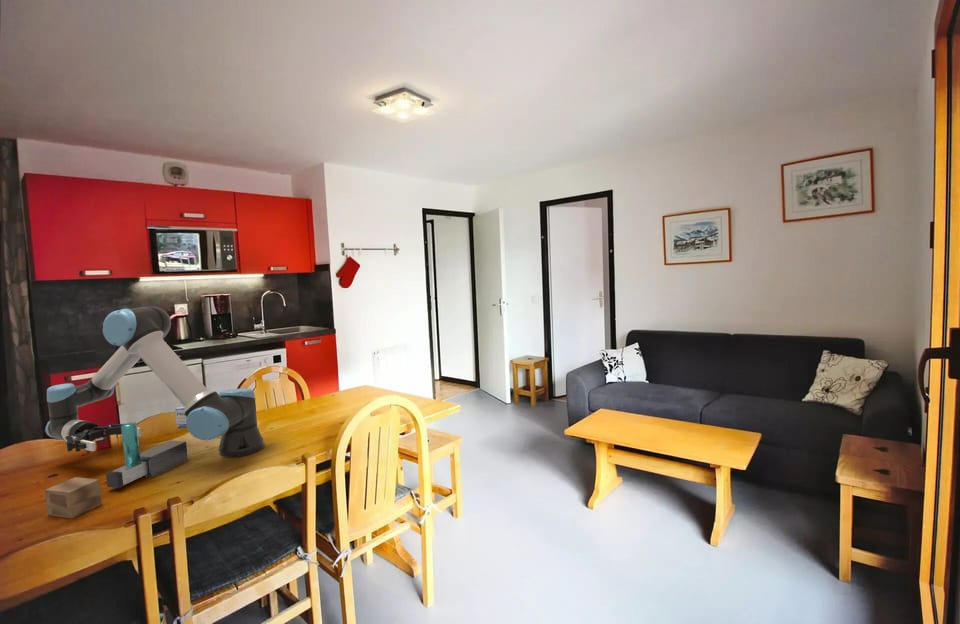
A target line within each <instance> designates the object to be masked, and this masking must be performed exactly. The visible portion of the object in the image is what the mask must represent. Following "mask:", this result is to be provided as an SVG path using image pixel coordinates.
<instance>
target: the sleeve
mask: <svg viewBox="0 0 960 624" xmlns="http://www.w3.org/2000/svg"><path fill="white" fill-rule="evenodd" d="M140 460H148V466H149V473H148V474H146V475H144V476H147V477H146V478H148V477H153V478H155V477H157V476H159V475H161V474H163V473H165V472H167V471H169V470H171V469H174V468H175V466H176V465H178V464H180V463H182V464H184V463H185V461H186V462H188V461H189V458H188V445H187V441H185V440H184V441H181V440H168V441H165V442H163V443H161V444H159V445H156V446H153V447H151V448H149V449H147V450H144V451H140ZM187 460H188V461H187ZM183 462H184V463H183ZM180 465H181V464H180ZM178 466H179V465H178ZM173 467H174V468H173ZM176 467H177V466H176ZM166 470H167V471H166ZM164 471H165V472H164ZM162 472H163V473H162ZM160 473H161V474H160ZM158 474H159V475H158ZM156 475H157V476H156ZM154 476H155V477H154Z"/></svg>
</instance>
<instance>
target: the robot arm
mask: <svg viewBox="0 0 960 624" xmlns="http://www.w3.org/2000/svg"><path fill="white" fill-rule="evenodd" d="M102 326H103V328H102V335H103V336H104V339H105V340H106V341H107V342H108V343H109V344H110V345H113V346H117V347H118V349H117V350H116V351H115V352H114V354H113V355H111V357H110V358H109V359H108V360H107V361H105V363H104V365H102V366H101V368H100V369H99V370H98V371H97V372H96V373H95V374H94V375H93V376H92V377H91V379H89V381H87V382H86V383H83V384H79V385H75V384H74V383H61V384H56V385H52V386H50V387H48V388H47V389H46V401H47V407H48V414H49V420H48V421H47V424H46V426H45V429H44V432H45V434H46V435H47V436H48V437H50V438H52V439H55V440H58V441H59V440H60V441H65V445H66V449H67V451H66V452H72V451H73V449H75V450H74V451H75V452H76V453H78V452H81V450H83V451H84V450H86V451H89V452H96V451H97V450H96V442H95V440H97V439H98V440H99V439H102V438H108V437H110V436H113V435H122V431H121V425H123V424H124V423H108V425H105V426H99V425H98V424H97V423H95V422H93V421H89V420H82V419H79V410H78V408H81V407H83V406H86V405H88V404H93V403H96V402H99V401H103V400H105V399H107V398H110V397H111V396H112V395H113V394H114V393H115V389H116V388H115V386H116V384H118V383H119V382H120V380H121V379H122V378H123V377H125V376H126V374H127V373H128V372H129V371H130V370H131V369H132V368H133V367H134V366H135V364H136V363H137V362H138V361H140V359H141V360H142V362H144V364H145V365H147V367H148V368H149V369H150V370H151V372H153V374H155V376H156V377H157V378H158V379H159V380H160V381H161V382H162V383H163V384H164V386H165V387H166V388H167V389H168V390H169V391H170V392H171V393H172V395H173V396H174V397H175V398H176V399H177V400H178V401H179V403H181V404H182V405H181V406H184V407H185V410H184V415H185V416H186V417H187V419H186V423H187V426H186V427H185V428H186V430H188V432H189V434H190V435H191V436H192V437H194V438H195V439H198V440H201V441H211V440H215V439H217V438H219V437H221V438H220V441H219V442H220V443H219V445H218V455H219V456H221V457H224V458H237V457H244V456H247V455H251V454H254V453H256V452H260V451H261V450H262V449H263V448H264V446H265V440H264V437H262V434H261V432H260V429H259V427H258V418H257V416H258V415H257V405H256V399H257V398H256V395H255V391H254V389H252V388H233V389H224V390H220V392H219V393H218V392H217V391H216V390H209V389H208V388H207V387H206V386H205V385H204V384H203V383H202V381H201V380H200V379H199V378H198V377H197V376H196V375H195V373H194V372H193V371H191V369H190V368H189V367H188V365H186V363H185V362H184V361H183V360H182V359H181V358H180V357H179V356H178V355H177V353H176V351H175V352H174V350H173V349H172V348H171V347H170V345H168V344H167V342H166V341H165V339H164V338H166V336H167V335H168V334H169V332H170V330H171V326H172V321H171V316H169V314H168V313H167V311H165V310H164V309H163V308H161V307H158V306H154V305H153V306H151V305H149V306H142V307H141V306H140V307H134V308H133V307H132V308H121V309H119V310H114V311H112V312H110V313H109V314H107V316H106V317H105V319H104V320H103V323H102ZM137 432H138V437H142V435H143V434H142V429H141V427H138V426H137Z"/></svg>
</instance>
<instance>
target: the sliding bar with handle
mask: <svg viewBox="0 0 960 624" xmlns="http://www.w3.org/2000/svg"><path fill="white" fill-rule="evenodd" d="M122 424H123V425H121V431H122V434H121V437H122V438H121V439H122V445H123V446H122V447H123V449H122V450H123V456H124V465H123V466H120V467H118V468H116V469H114V470H110V471H108V472H106V473H105V479H106V486H107V488H114V489H115V488H116V489H119V488H121V487H124V486H125V485H127V484H129V483H131V482H133V481H135V480H138V479H139V478H143V477H142V476H144V475H146V474H148V473H149V466H148V460H140V453H141V451H140V443H139V436H138V432H137V427H138V426H137V422H133V421H132V422H127V423H122Z"/></svg>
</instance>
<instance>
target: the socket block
mask: <svg viewBox="0 0 960 624" xmlns="http://www.w3.org/2000/svg"><path fill="white" fill-rule="evenodd" d="M44 495H45V501H46V509H47V516H49V517H50V516H51V517H59V518H67V519H74V518H76V517H78V516H80V515H84V513H86V512H89V511H91V510H93V509H95V508H97V507H98V506H101V505H103V501H102V493H101V485H100V479H99V478H87V477H78V476H77V477H76V476H75V477H73V478H71V479H68V480H66V481H63V482H61V483H58V484H55V485H53V486H50V487H49V488H46V489H44Z"/></svg>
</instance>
